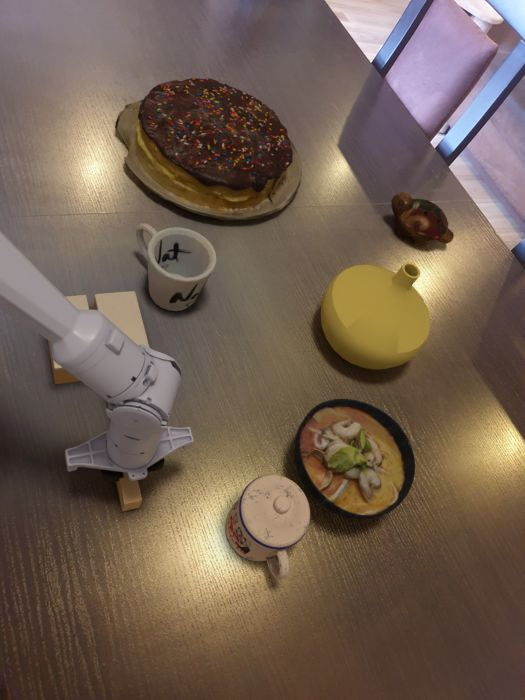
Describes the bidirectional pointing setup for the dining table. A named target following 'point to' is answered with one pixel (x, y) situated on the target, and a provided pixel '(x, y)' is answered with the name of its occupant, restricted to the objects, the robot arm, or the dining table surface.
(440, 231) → the decorative turtle
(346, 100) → the dining table surface
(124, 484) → the knife
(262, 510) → the teacup with lid
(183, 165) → the cake
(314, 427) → the bowl
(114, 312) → the sponge cake
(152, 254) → the mug
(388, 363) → the vase
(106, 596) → the dining table surface
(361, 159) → the dining table surface
